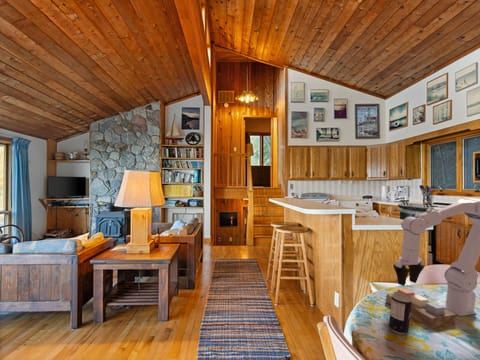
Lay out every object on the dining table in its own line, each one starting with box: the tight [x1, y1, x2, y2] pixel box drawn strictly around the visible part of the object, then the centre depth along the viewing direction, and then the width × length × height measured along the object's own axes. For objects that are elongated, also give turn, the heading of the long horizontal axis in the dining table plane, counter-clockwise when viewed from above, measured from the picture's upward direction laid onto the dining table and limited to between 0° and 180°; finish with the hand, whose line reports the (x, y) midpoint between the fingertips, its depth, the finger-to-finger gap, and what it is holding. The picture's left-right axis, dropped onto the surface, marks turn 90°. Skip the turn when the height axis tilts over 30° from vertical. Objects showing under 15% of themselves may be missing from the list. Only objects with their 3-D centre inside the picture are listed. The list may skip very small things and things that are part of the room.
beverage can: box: [388, 291, 412, 335], centre depth 98 cm, size 6×6×12 cm
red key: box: [397, 287, 415, 297], centre depth 118 cm, size 4×4×3 cm
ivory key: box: [411, 294, 430, 307], centre depth 112 cm, size 4×4×3 cm
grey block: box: [425, 301, 445, 316], centre depth 107 cm, size 4×4×3 cm
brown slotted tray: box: [385, 292, 457, 329], centre depth 112 cm, size 12×19×4 cm, turn 21°
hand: (407, 283), depth 116 cm, fingers open, 7 cm apart
